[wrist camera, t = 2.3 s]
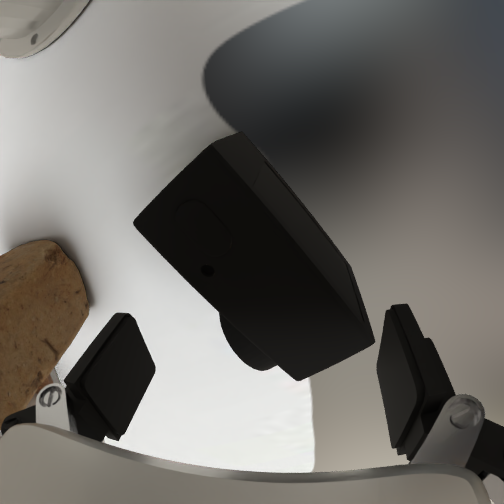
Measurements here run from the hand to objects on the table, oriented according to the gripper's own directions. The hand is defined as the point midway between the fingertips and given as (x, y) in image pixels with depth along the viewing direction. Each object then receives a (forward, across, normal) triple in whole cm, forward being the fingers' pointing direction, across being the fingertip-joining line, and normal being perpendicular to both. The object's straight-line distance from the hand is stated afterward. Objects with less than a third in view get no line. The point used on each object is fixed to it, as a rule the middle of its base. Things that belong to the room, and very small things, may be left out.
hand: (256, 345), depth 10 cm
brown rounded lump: (+8, +20, +1) cm, 21 cm away
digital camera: (+9, 0, -1) cm, 9 cm away
